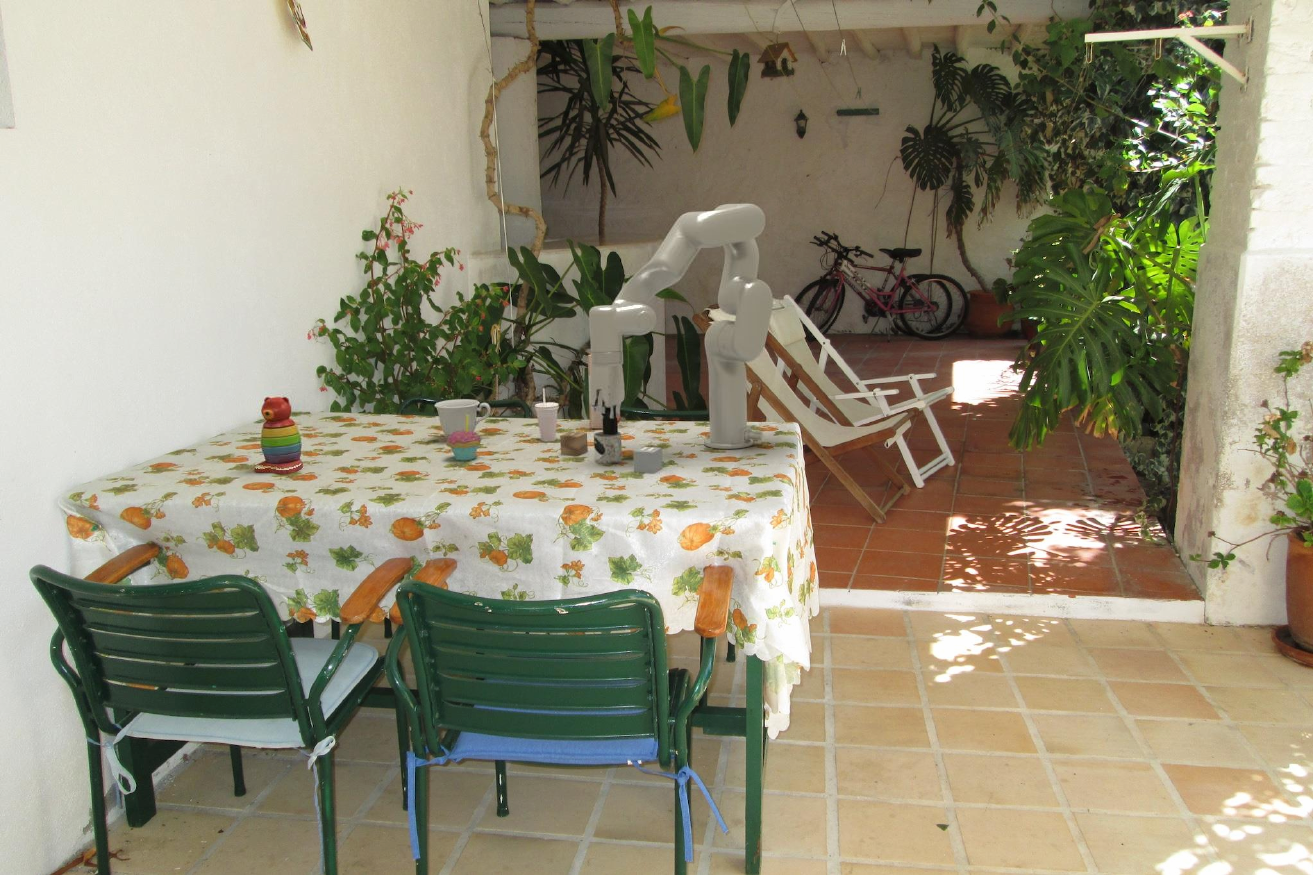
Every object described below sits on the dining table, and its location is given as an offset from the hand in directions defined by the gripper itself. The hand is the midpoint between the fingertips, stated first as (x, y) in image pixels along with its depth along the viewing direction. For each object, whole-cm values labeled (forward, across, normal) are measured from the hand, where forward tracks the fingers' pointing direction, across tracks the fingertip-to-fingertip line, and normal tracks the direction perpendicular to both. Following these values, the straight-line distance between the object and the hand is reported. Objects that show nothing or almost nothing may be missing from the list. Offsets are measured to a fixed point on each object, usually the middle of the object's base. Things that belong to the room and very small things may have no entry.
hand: (610, 433), depth 253 cm
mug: (+7, 0, 0) cm, 7 cm away
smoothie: (+7, -18, -27) cm, 33 cm away
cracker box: (+7, -41, -21) cm, 47 cm away
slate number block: (+7, +5, +12) cm, 15 cm away
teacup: (+7, -13, -50) cm, 52 cm away
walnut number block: (+7, -6, -13) cm, 16 cm away
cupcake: (+7, +7, -37) cm, 39 cm away
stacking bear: (+7, +29, -75) cm, 81 cm away
